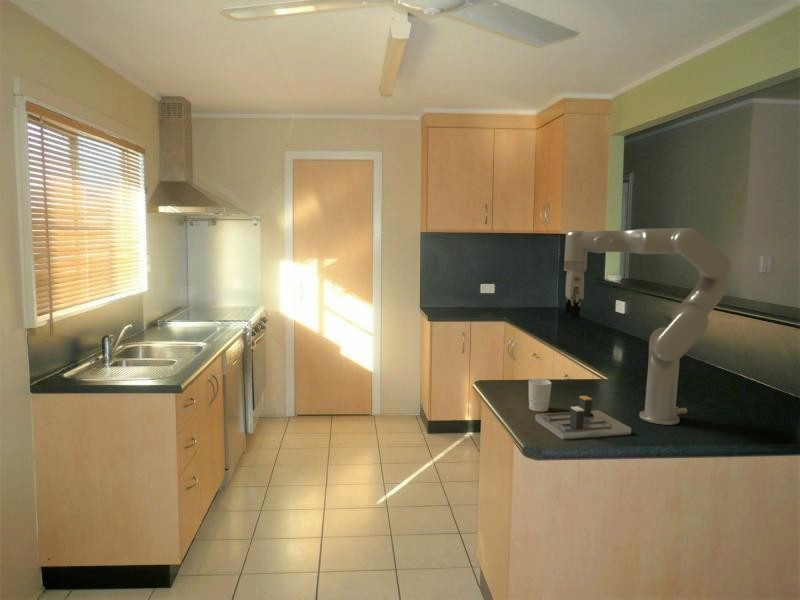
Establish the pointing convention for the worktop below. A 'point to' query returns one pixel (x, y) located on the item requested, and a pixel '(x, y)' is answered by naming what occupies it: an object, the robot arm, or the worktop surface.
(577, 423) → the fader
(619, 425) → the console
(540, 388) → the white cup
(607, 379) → the worktop surface
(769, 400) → the worktop surface
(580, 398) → the block
